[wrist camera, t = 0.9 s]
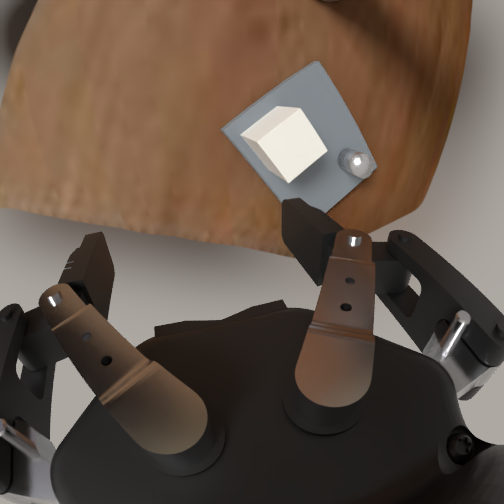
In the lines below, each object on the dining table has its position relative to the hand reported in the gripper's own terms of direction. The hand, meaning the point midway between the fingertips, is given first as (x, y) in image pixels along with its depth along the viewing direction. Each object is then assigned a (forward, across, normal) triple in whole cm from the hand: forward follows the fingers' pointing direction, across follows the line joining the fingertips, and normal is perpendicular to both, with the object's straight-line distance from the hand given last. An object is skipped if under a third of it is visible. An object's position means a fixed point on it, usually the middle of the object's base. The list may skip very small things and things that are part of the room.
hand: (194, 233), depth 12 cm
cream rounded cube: (+21, -11, 0) cm, 24 cm away
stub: (+21, -22, +3) cm, 31 cm away
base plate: (+22, -17, +2) cm, 28 cm away
